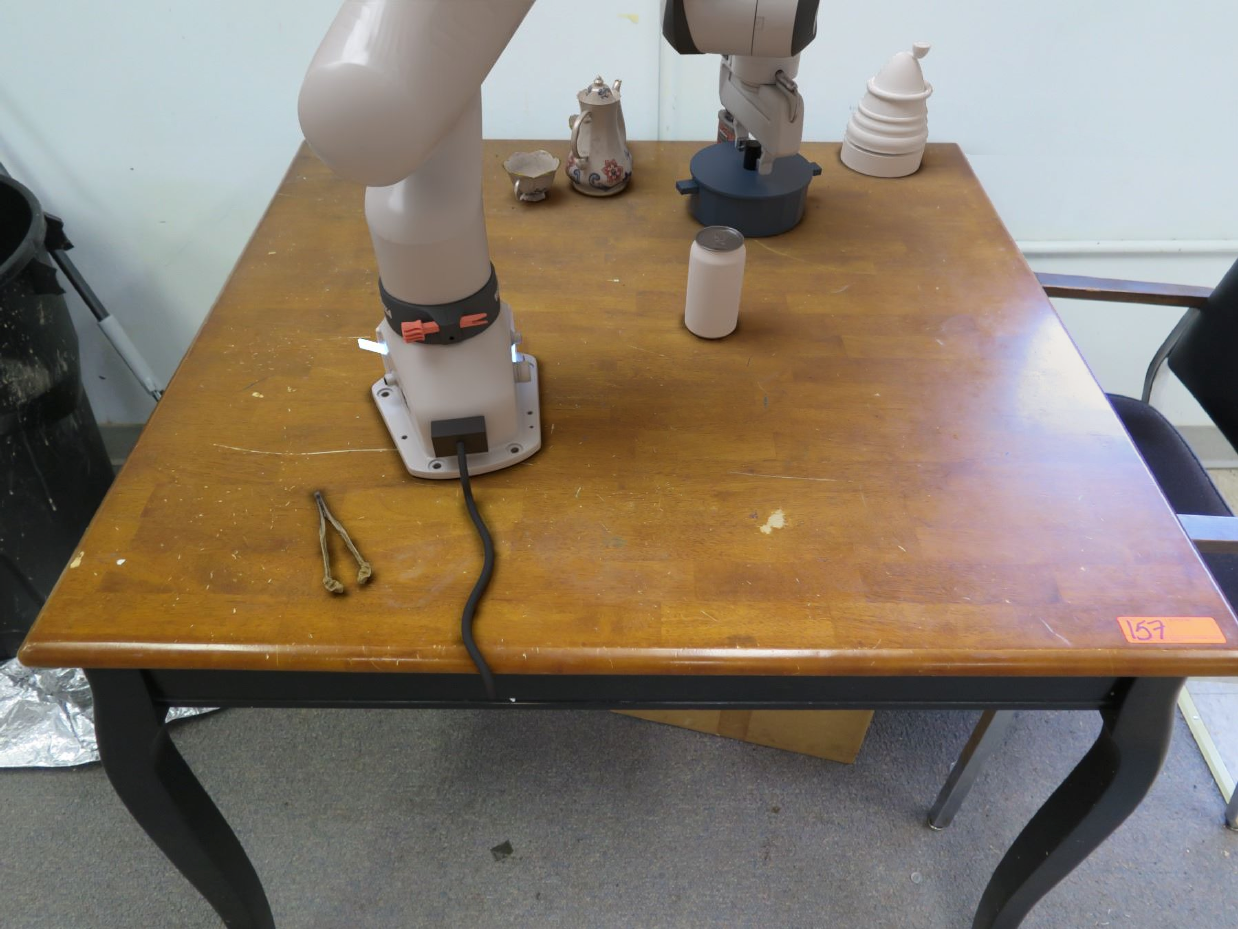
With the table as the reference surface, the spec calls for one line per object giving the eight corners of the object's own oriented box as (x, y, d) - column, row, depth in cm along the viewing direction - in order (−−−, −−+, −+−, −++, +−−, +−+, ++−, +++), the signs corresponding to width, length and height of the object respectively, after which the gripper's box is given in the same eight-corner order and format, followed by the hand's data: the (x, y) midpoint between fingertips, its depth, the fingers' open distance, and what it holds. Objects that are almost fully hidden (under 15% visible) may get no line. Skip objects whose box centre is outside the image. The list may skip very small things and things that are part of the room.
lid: (833, 193, 111) (840, 162, 107) (716, 211, 107) (719, 179, 104) (779, 141, 122) (784, 111, 119) (672, 155, 119) (674, 124, 115)
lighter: (709, 156, 131) (715, 94, 124) (728, 153, 131) (735, 91, 124) (728, 177, 125) (735, 114, 118) (748, 174, 126) (756, 111, 119)
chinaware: (582, 144, 137) (569, 40, 126) (669, 153, 131) (665, 45, 119) (496, 216, 120) (472, 103, 108) (592, 231, 113) (578, 112, 102)
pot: (838, 225, 115) (846, 186, 111) (696, 247, 111) (700, 207, 106) (788, 174, 126) (794, 137, 122) (658, 192, 122) (659, 154, 117)
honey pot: (929, 154, 132) (964, 37, 119) (905, 184, 124) (939, 63, 111) (856, 136, 136) (881, 22, 123) (828, 164, 129) (852, 46, 116)
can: (736, 311, 100) (747, 225, 91) (736, 342, 96) (748, 254, 87) (685, 307, 100) (692, 222, 92) (683, 338, 96) (690, 251, 87)
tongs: (329, 490, 78) (324, 477, 77) (378, 583, 71) (373, 571, 70) (287, 507, 77) (281, 494, 75) (333, 604, 70) (327, 592, 68)
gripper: (823, 85, 97) (804, 190, 107) (756, 31, 110) (744, 129, 120) (777, 90, 96) (761, 197, 106) (715, 35, 109) (706, 134, 119)
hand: (752, 160), depth 113 cm, fingers open, 6 cm apart
